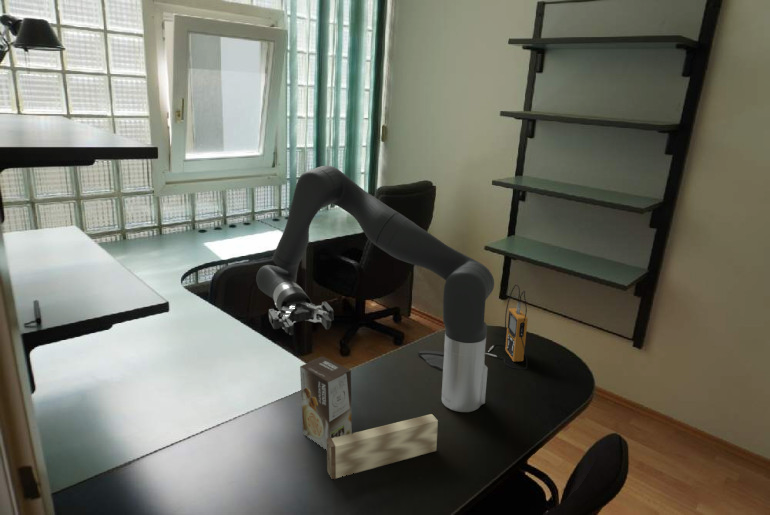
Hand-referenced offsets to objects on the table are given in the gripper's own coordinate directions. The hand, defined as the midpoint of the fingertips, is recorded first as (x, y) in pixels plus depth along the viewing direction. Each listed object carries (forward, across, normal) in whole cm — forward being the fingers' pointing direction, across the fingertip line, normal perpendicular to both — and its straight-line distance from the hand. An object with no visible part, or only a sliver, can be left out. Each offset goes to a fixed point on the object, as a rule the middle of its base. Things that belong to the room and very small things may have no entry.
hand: (310, 327), depth 111 cm
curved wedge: (-8, +39, +21) cm, 45 cm away
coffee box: (+11, 0, +20) cm, 23 cm away
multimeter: (-5, +55, +20) cm, 59 cm away
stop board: (+22, +8, +20) cm, 31 cm away
